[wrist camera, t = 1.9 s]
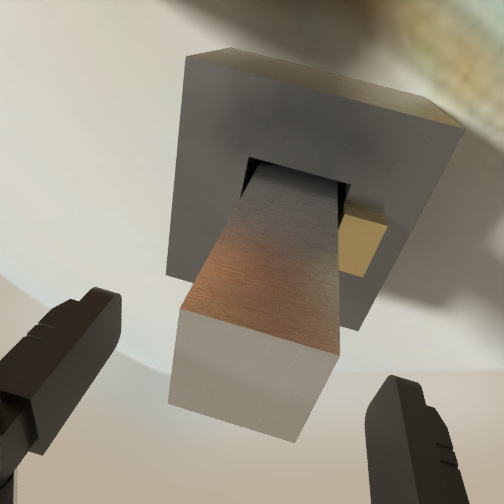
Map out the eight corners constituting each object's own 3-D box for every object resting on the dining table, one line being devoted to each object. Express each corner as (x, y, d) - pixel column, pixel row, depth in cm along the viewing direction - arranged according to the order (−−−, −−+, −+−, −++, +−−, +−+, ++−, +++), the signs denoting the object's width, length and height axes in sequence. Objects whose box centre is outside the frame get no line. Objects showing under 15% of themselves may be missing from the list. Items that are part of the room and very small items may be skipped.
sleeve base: (424, 97, 21) (475, 136, 14) (352, 258, 28) (359, 346, 20) (231, 47, 22) (175, 58, 14) (205, 217, 29) (157, 286, 21)
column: (337, 146, 24) (341, 355, 9) (318, 201, 26) (295, 443, 11) (277, 130, 24) (179, 307, 9) (263, 186, 26) (166, 403, 11)
